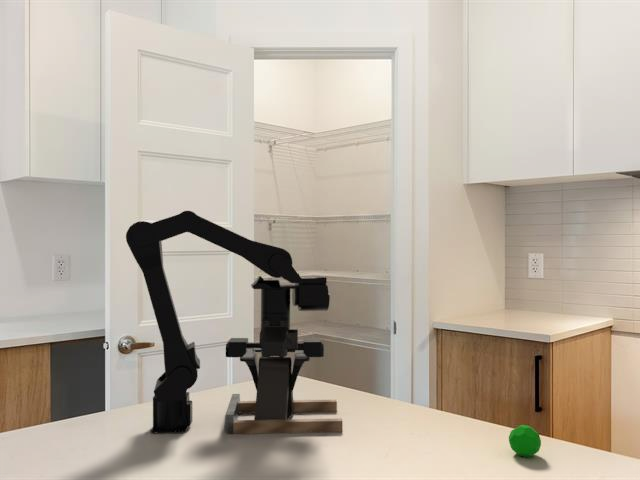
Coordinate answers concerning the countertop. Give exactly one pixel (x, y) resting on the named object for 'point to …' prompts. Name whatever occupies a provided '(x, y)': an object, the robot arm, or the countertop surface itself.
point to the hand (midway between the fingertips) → (274, 391)
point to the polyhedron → (524, 441)
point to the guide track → (289, 424)
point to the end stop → (232, 412)
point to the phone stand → (274, 389)
